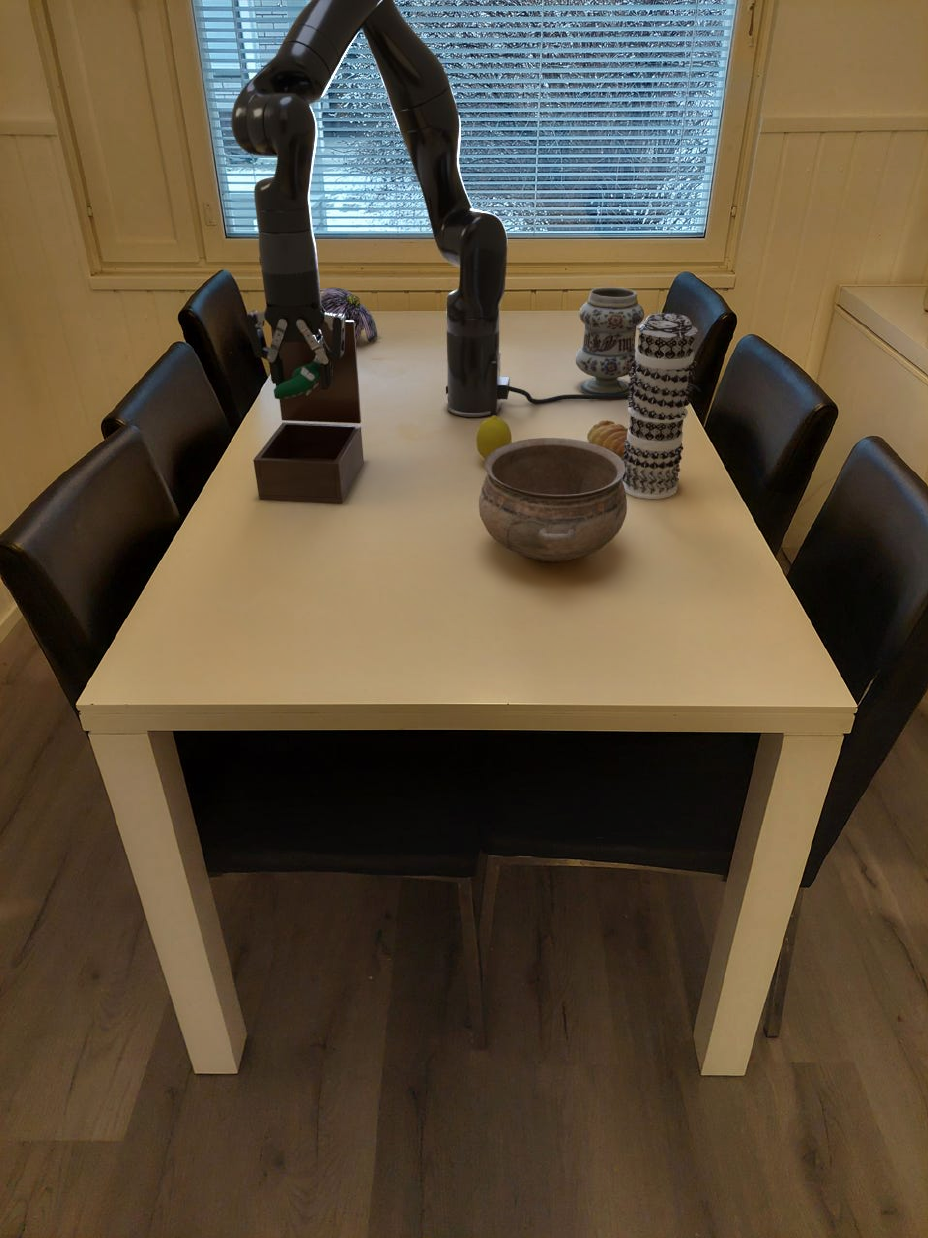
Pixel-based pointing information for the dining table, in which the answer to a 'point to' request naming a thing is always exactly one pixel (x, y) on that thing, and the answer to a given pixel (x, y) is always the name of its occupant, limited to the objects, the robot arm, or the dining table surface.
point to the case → (309, 462)
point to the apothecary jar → (608, 339)
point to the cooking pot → (553, 498)
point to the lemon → (492, 435)
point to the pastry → (609, 436)
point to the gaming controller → (300, 381)
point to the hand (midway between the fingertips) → (303, 386)
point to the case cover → (320, 403)
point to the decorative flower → (349, 310)
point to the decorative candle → (658, 405)
